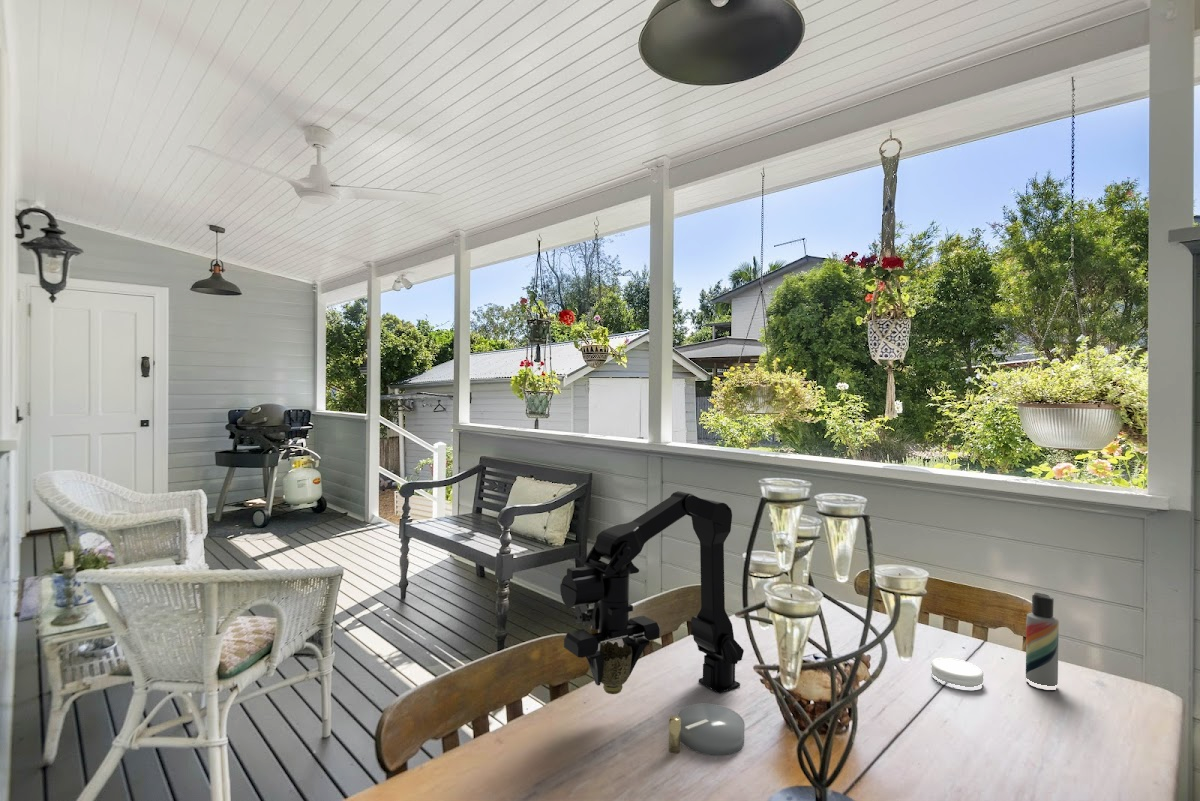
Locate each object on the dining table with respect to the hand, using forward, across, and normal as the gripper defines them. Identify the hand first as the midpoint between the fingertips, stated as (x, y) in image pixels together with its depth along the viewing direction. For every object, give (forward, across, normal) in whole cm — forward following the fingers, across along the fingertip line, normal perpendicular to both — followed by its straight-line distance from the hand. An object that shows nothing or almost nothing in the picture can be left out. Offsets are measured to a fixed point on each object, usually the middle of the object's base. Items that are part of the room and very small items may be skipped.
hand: (612, 680), depth 114 cm
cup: (+2, 0, 0) cm, 2 cm away
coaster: (+8, -75, +26) cm, 80 cm away
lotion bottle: (+8, -89, +37) cm, 97 cm away
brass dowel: (+7, -4, +14) cm, 16 cm away
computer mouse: (+8, -12, +14) cm, 20 cm away
